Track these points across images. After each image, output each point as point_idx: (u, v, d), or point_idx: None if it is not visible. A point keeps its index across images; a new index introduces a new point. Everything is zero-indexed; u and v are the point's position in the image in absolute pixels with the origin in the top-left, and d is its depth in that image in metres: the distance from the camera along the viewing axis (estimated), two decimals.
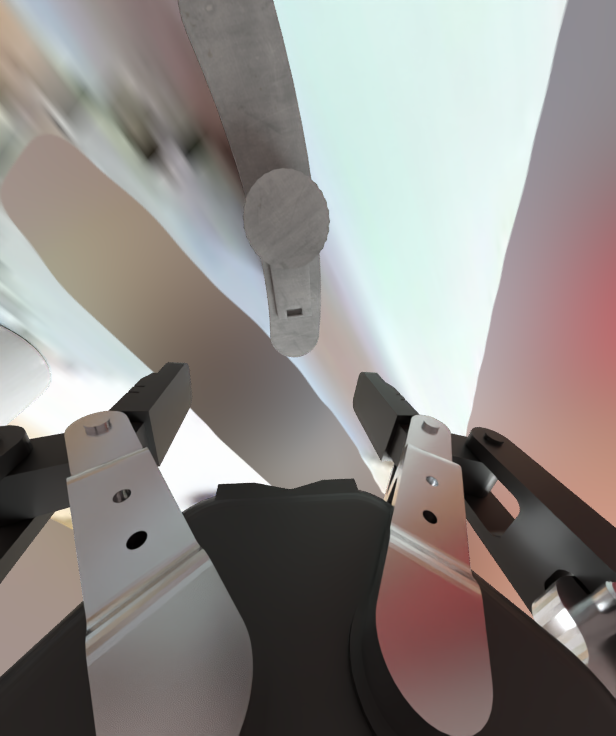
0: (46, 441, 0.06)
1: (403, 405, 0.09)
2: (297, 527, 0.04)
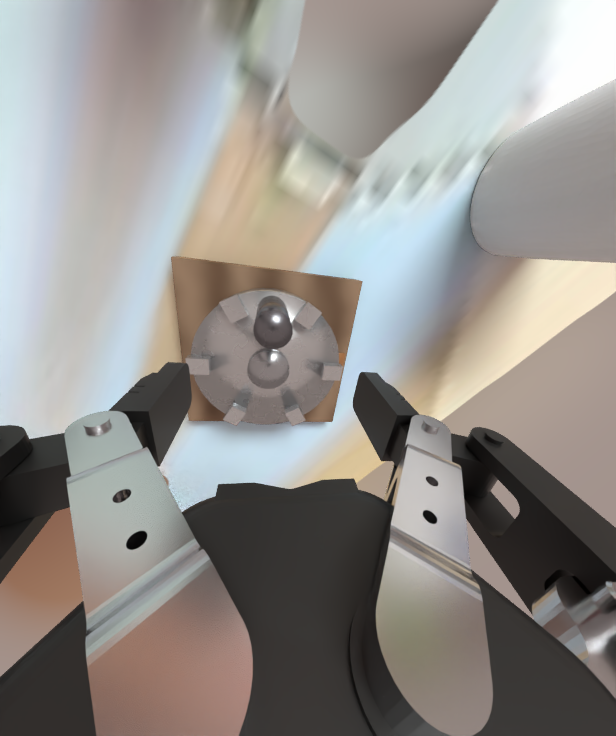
0: (46, 440, 0.06)
1: (403, 405, 0.09)
2: (297, 527, 0.04)
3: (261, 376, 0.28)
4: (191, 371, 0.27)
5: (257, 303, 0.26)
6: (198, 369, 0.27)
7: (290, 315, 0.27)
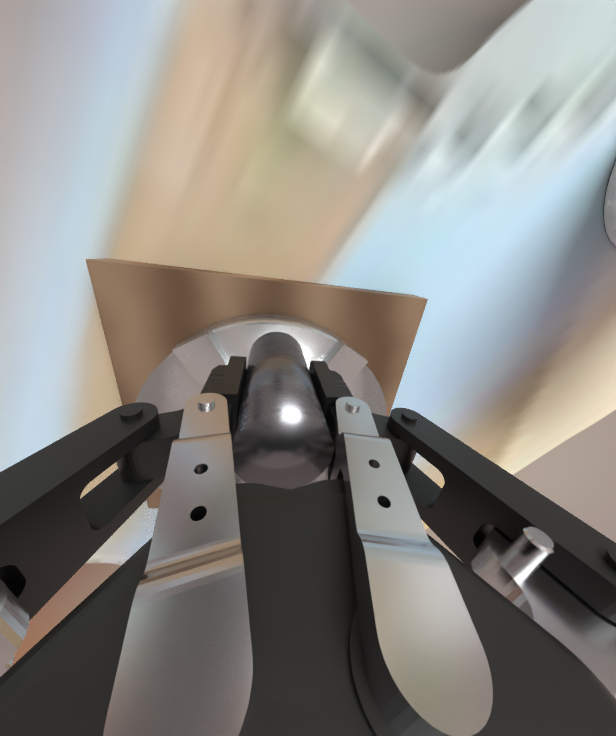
0: (165, 416, 0.07)
1: (336, 388, 0.09)
2: (297, 527, 0.04)
3: None
4: None
5: (249, 346, 0.14)
6: None
7: (309, 364, 0.15)
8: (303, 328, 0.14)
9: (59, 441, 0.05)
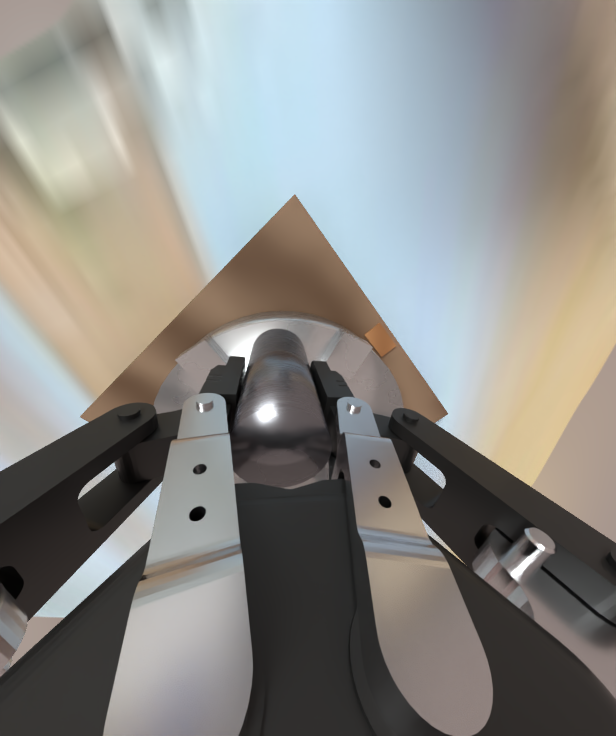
0: (163, 416, 0.07)
1: (338, 389, 0.09)
2: (297, 527, 0.04)
3: None
4: None
5: (249, 346, 0.14)
6: None
7: (312, 357, 0.14)
8: (301, 321, 0.14)
9: (56, 442, 0.05)
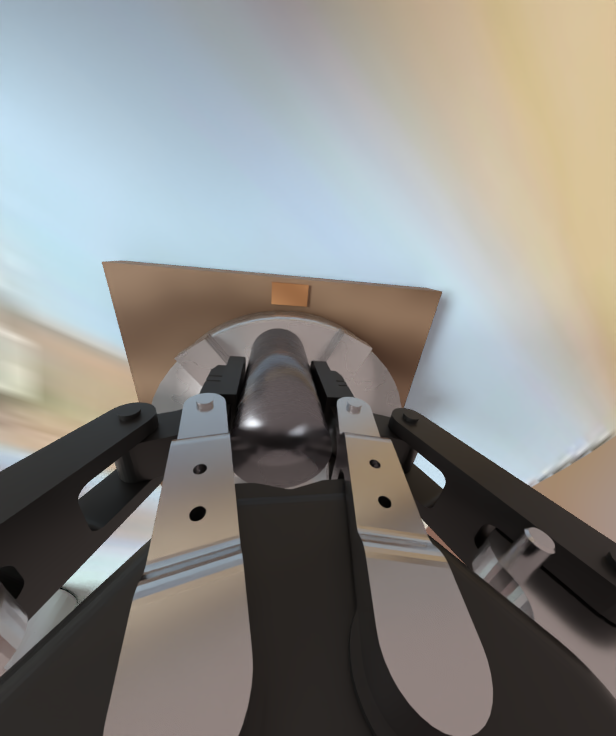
0: (163, 416, 0.07)
1: (337, 389, 0.09)
2: (297, 527, 0.04)
3: None
4: None
5: (249, 346, 0.14)
6: None
7: (312, 357, 0.14)
8: (301, 322, 0.14)
9: (57, 442, 0.05)
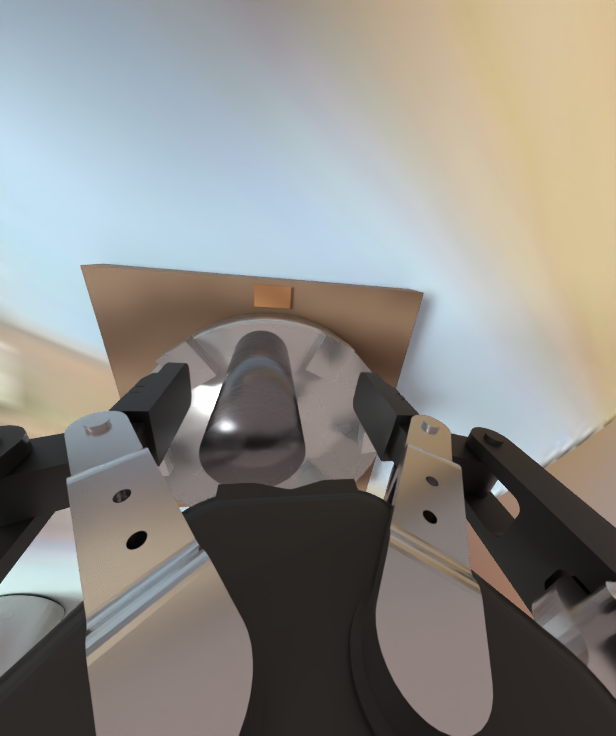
0: (45, 441, 0.06)
1: (403, 405, 0.09)
2: (297, 527, 0.04)
3: None
4: None
5: (232, 348, 0.14)
6: None
7: (296, 359, 0.15)
8: (284, 324, 0.14)
9: None
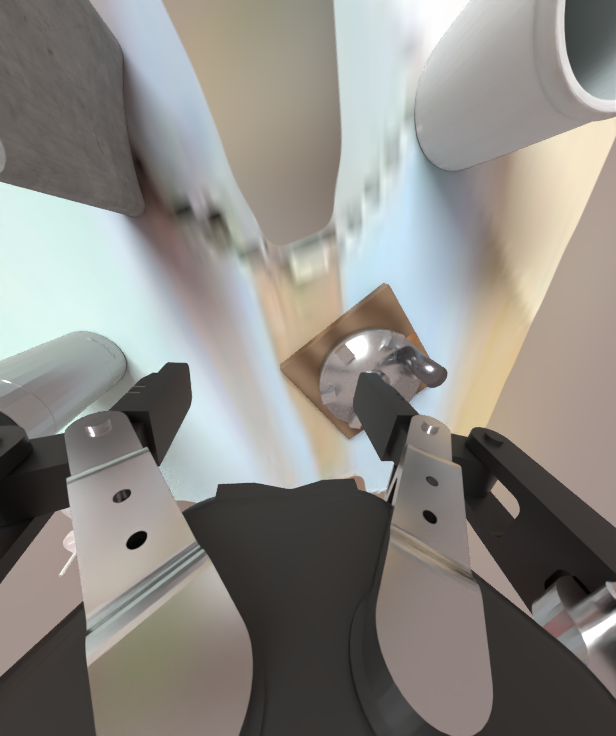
0: (46, 441, 0.06)
1: (403, 405, 0.09)
2: (297, 527, 0.04)
3: None
4: (340, 354, 0.35)
5: (403, 346, 0.38)
6: (344, 356, 0.36)
7: None
8: None
9: None
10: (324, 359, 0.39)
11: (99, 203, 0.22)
